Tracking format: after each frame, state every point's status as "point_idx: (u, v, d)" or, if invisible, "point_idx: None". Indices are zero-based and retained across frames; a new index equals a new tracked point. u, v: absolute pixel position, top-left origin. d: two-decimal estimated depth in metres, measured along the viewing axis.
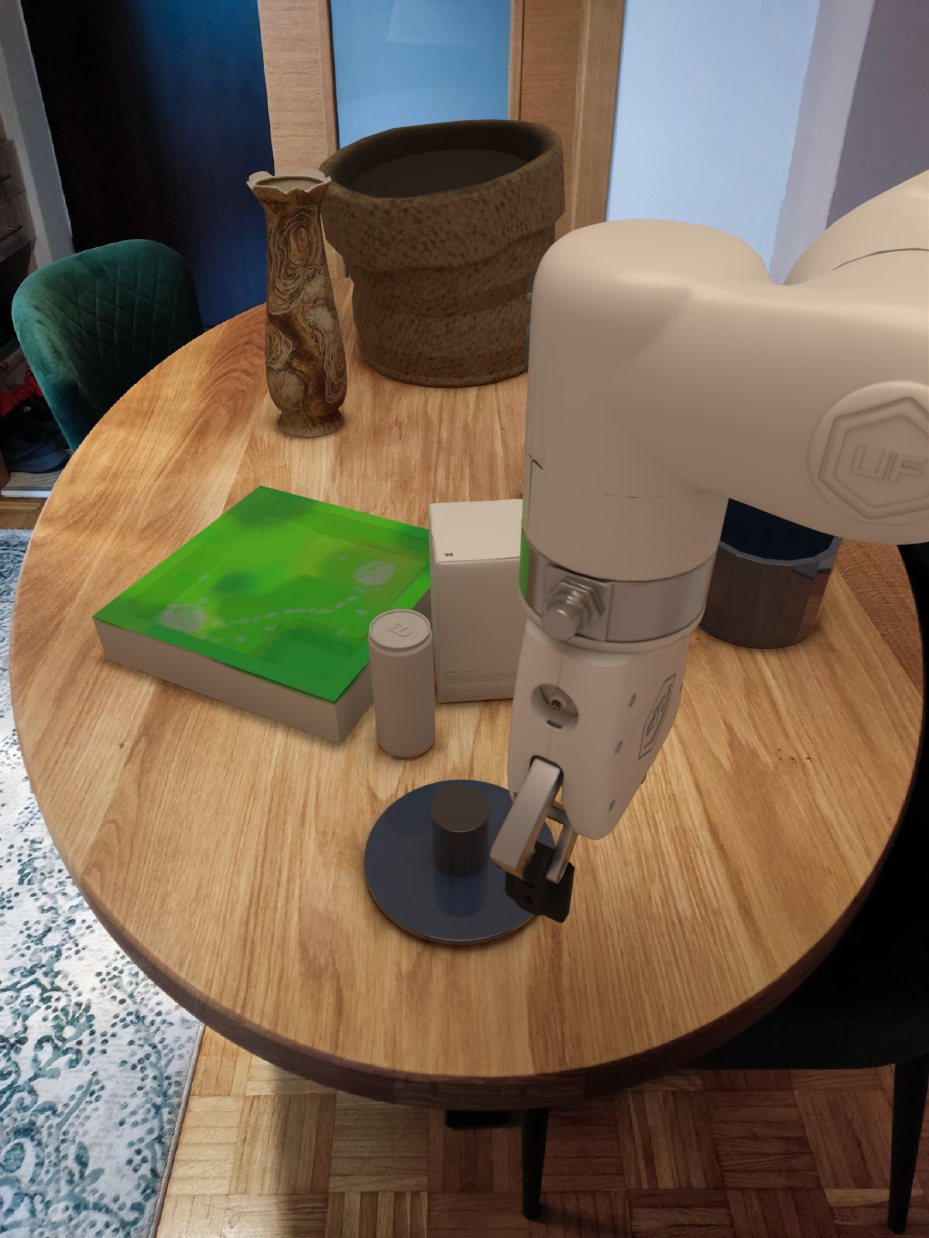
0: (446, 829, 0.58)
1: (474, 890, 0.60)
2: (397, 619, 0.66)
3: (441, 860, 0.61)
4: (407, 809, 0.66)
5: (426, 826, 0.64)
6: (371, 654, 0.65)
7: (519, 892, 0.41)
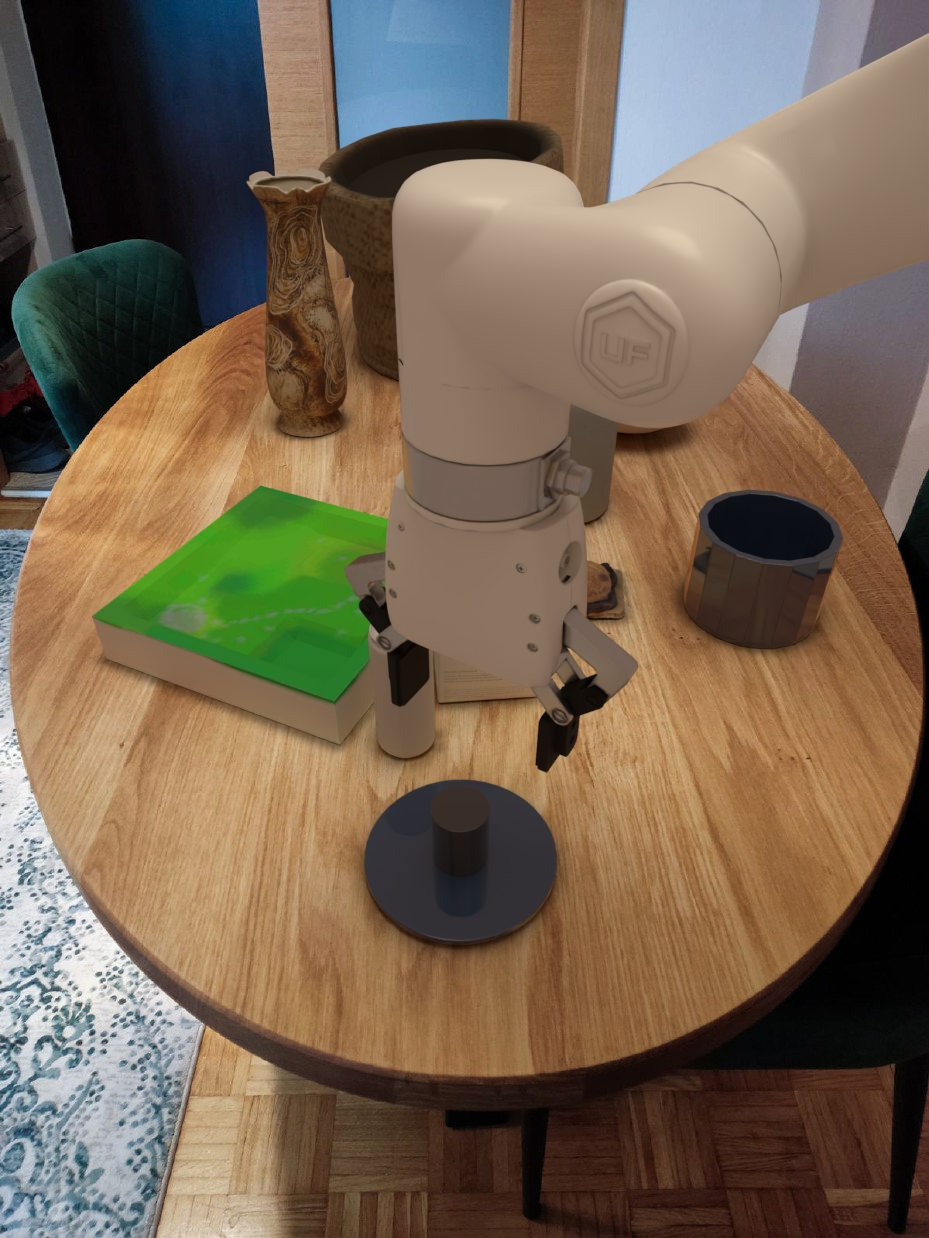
0: (446, 829, 0.58)
1: (474, 890, 0.60)
2: None
3: (441, 860, 0.61)
4: (407, 809, 0.66)
5: (426, 826, 0.64)
6: (371, 654, 0.65)
7: (568, 743, 0.48)
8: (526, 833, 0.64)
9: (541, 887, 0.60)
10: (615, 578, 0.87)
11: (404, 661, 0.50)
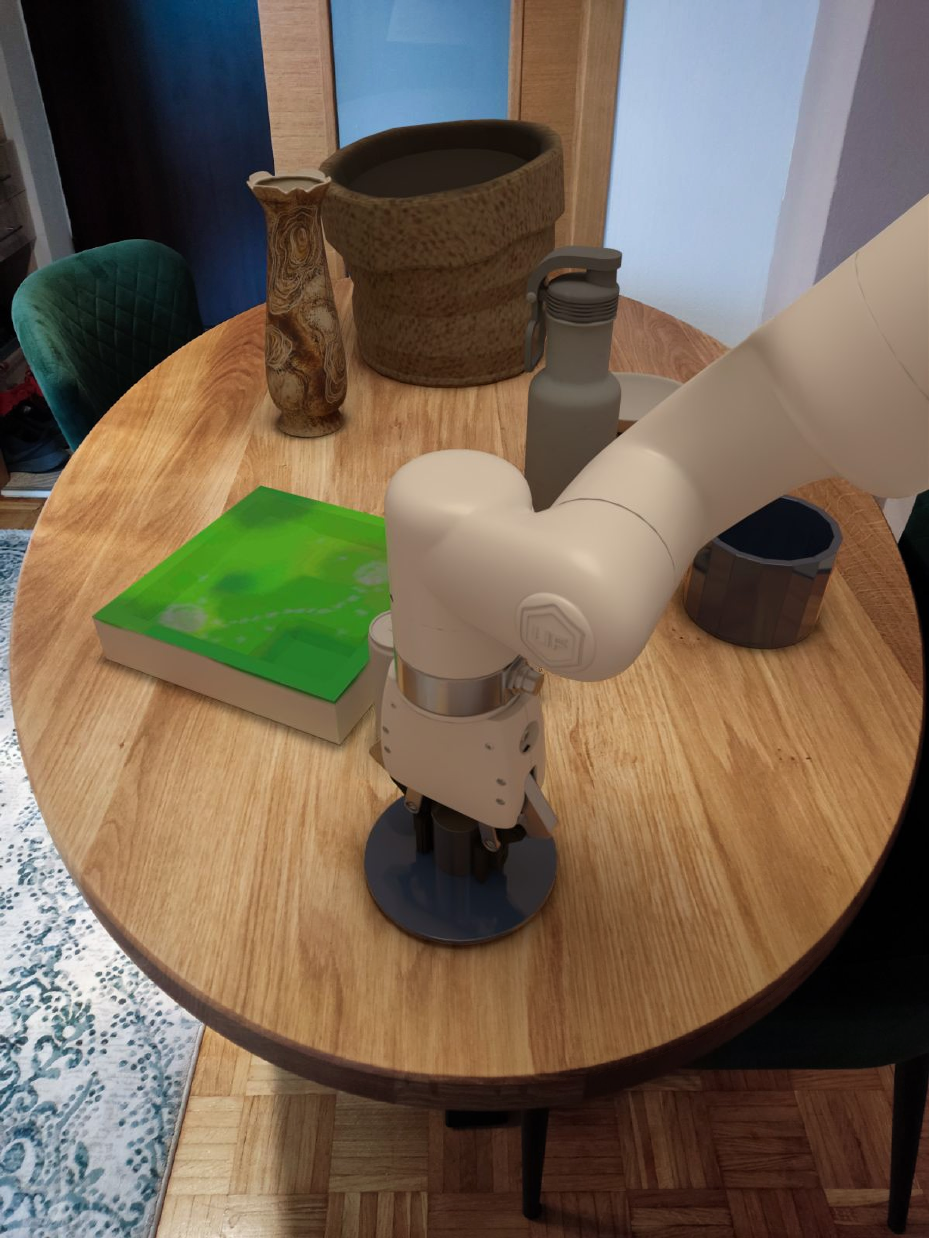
0: (446, 829, 0.58)
1: (474, 890, 0.60)
2: None
3: (441, 860, 0.61)
4: (407, 809, 0.66)
5: None
6: (371, 654, 0.65)
7: (499, 861, 0.60)
8: None
9: (541, 887, 0.60)
10: None
11: (428, 820, 0.60)
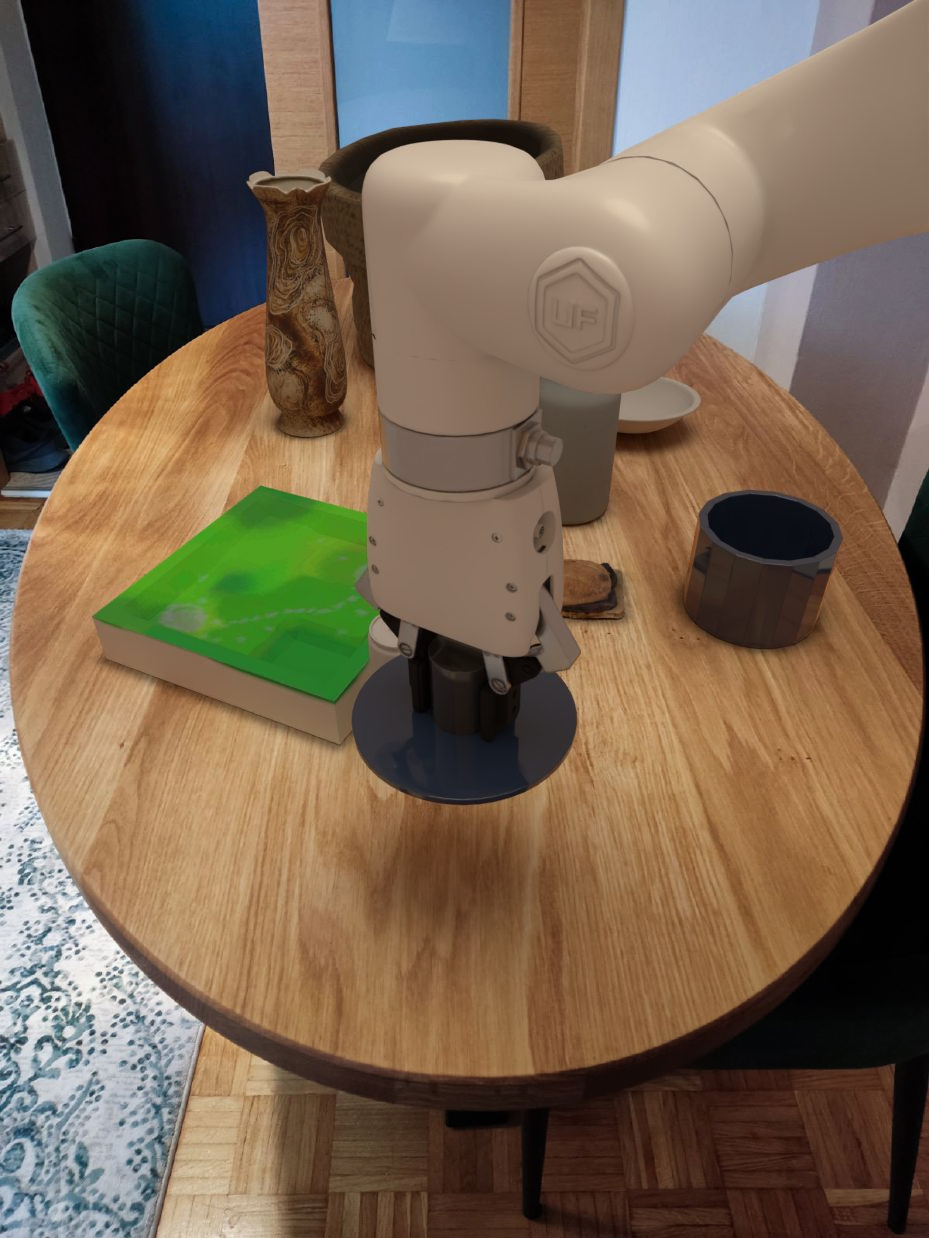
0: (446, 670, 0.49)
1: (480, 748, 0.51)
2: None
3: (441, 715, 0.52)
4: (402, 669, 0.56)
5: None
6: (371, 654, 0.65)
7: (509, 712, 0.50)
8: (540, 691, 0.55)
9: (559, 745, 0.51)
10: (615, 578, 0.87)
11: (425, 667, 0.51)
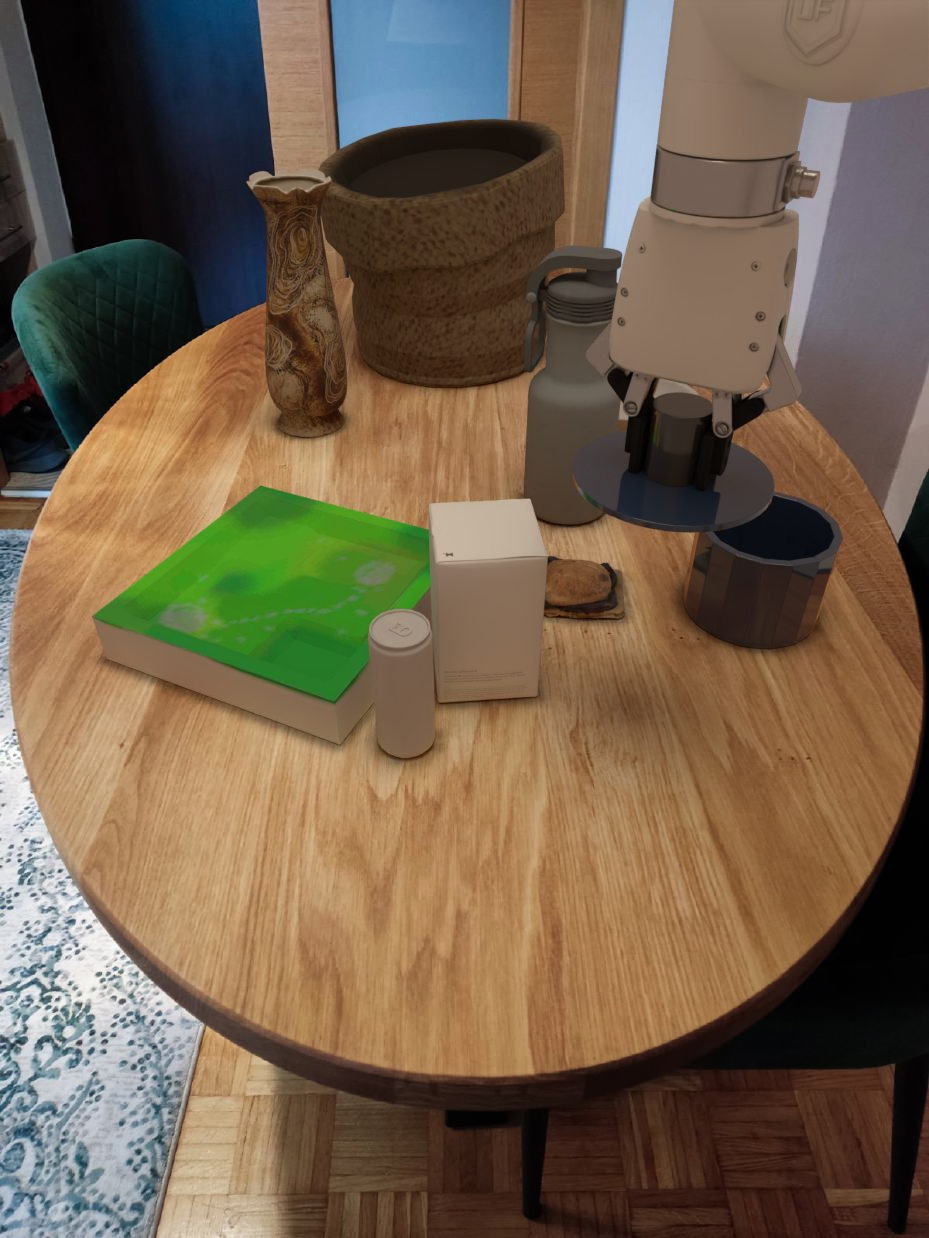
0: (674, 418, 0.56)
1: (695, 495, 0.58)
2: (397, 619, 0.66)
3: (659, 468, 0.59)
4: (607, 446, 0.64)
5: None
6: (371, 654, 0.65)
7: (723, 461, 0.58)
8: (734, 460, 0.62)
9: (763, 493, 0.59)
10: (615, 578, 0.87)
11: (646, 425, 0.59)
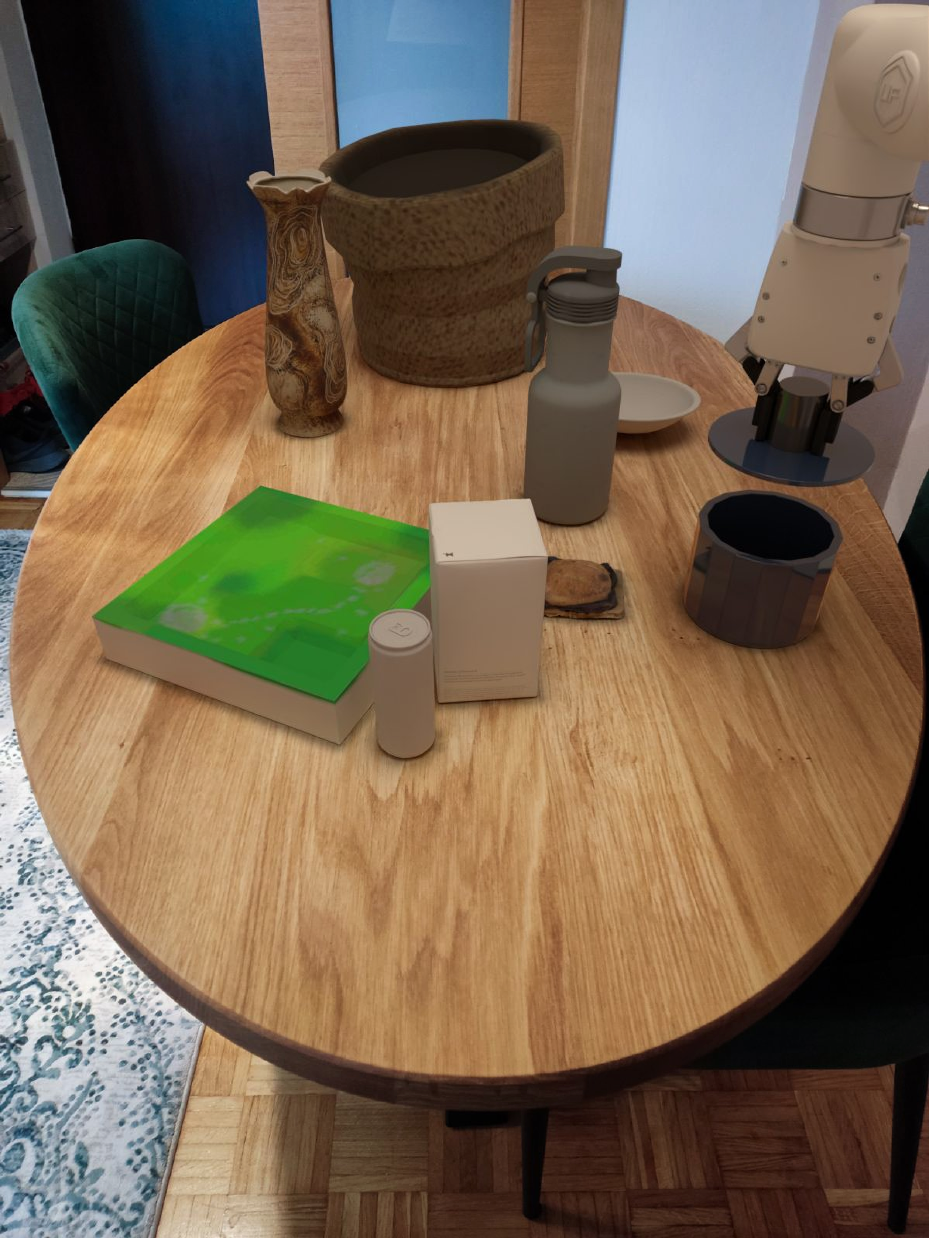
0: (799, 396, 0.71)
1: (812, 459, 0.73)
2: (397, 619, 0.66)
3: (783, 436, 0.73)
4: (733, 420, 0.78)
5: (754, 429, 0.77)
6: (371, 654, 0.65)
7: (835, 432, 0.72)
8: (839, 432, 0.76)
9: (867, 457, 0.73)
10: (615, 578, 0.87)
11: (773, 402, 0.73)
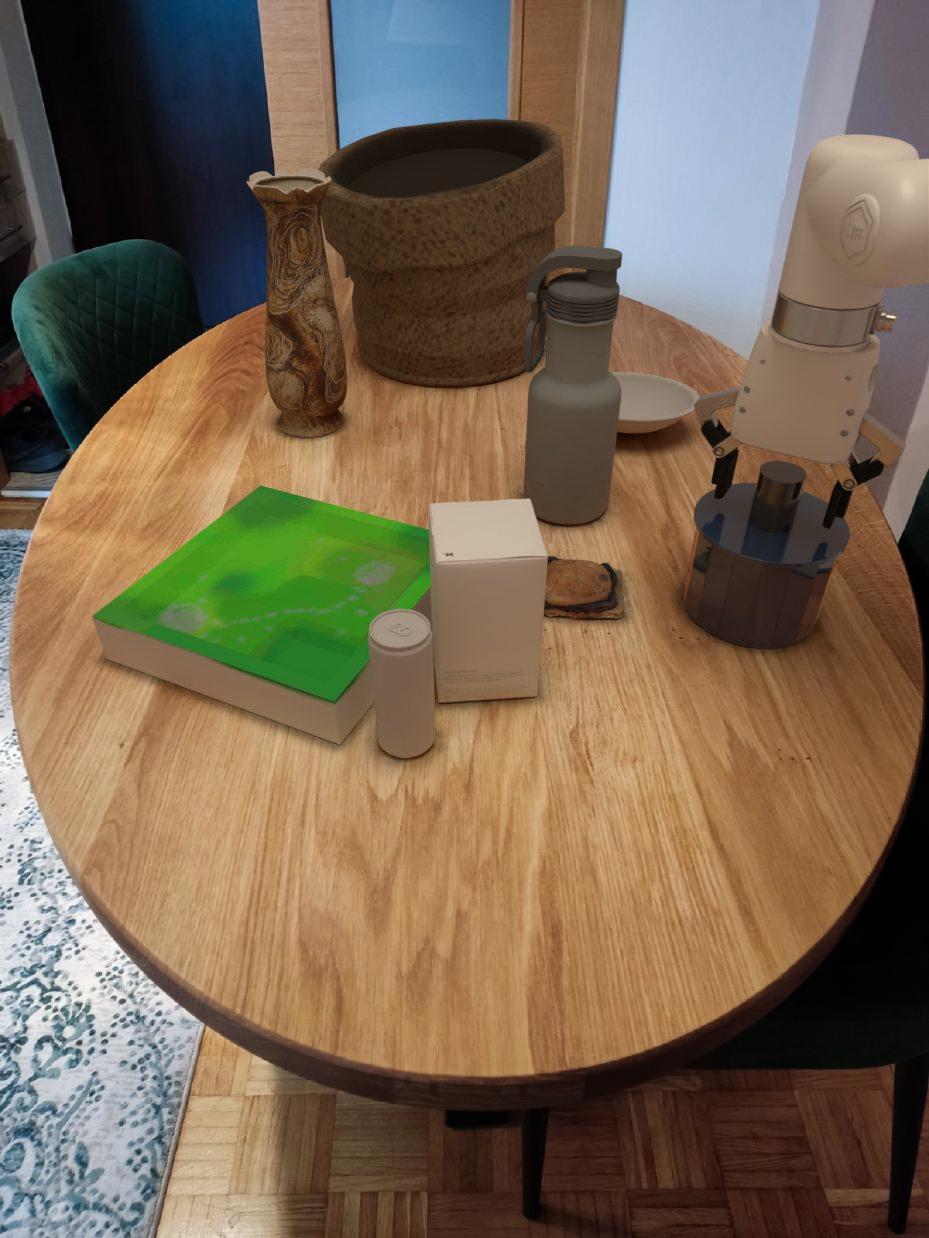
0: (778, 482, 0.76)
1: (791, 539, 0.78)
2: (397, 619, 0.66)
3: (763, 518, 0.78)
4: None
5: (737, 507, 0.82)
6: (371, 654, 0.65)
7: (846, 507, 0.75)
8: (817, 510, 0.81)
9: (842, 537, 0.78)
10: (615, 578, 0.87)
11: (730, 464, 0.78)
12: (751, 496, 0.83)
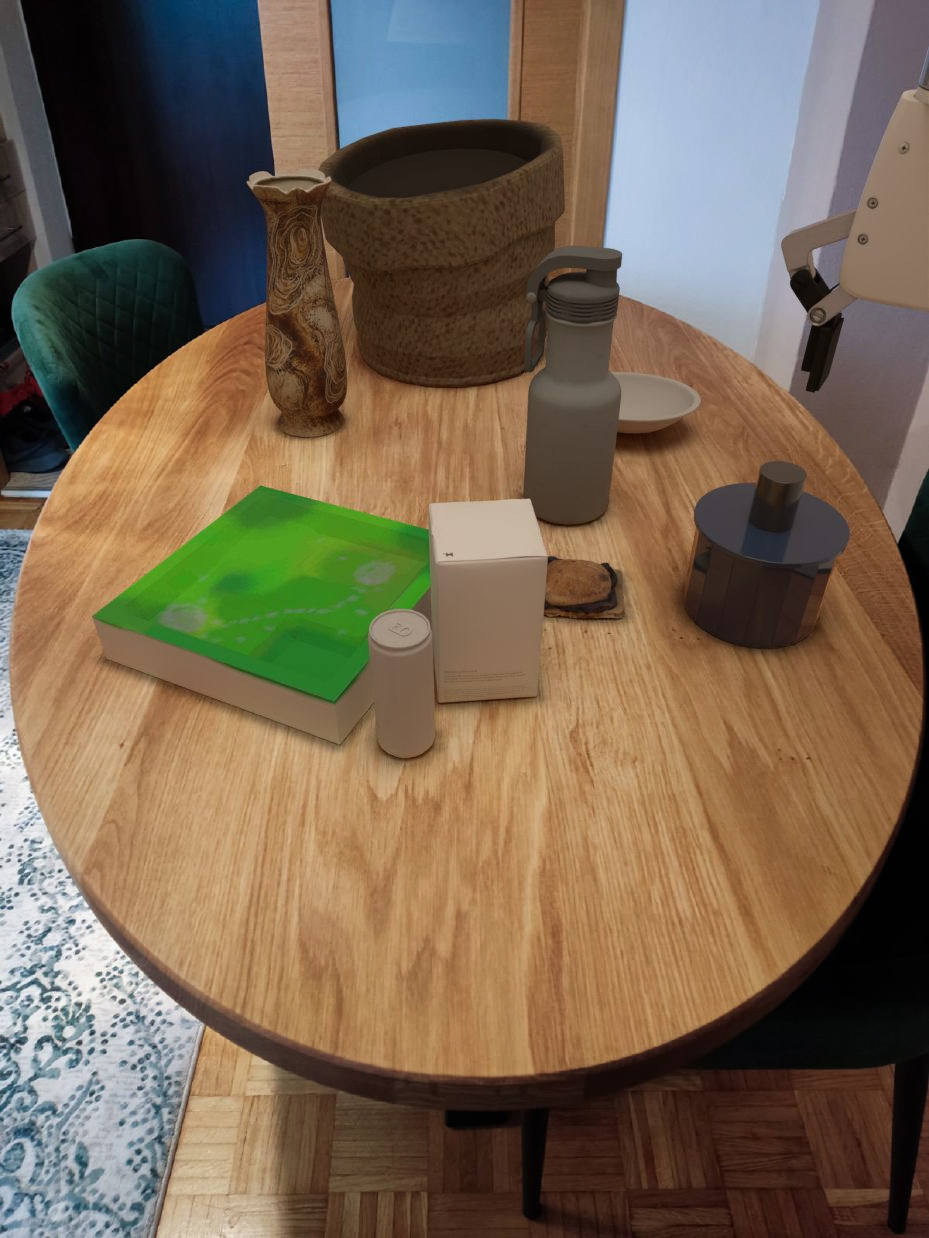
0: (778, 482, 0.76)
1: (791, 539, 0.78)
2: (397, 619, 0.66)
3: (763, 518, 0.78)
4: (717, 498, 0.83)
5: (737, 507, 0.82)
6: (371, 654, 0.65)
7: None
8: (817, 510, 0.81)
9: (842, 537, 0.78)
10: (615, 578, 0.87)
11: (833, 336, 0.52)
12: (751, 496, 0.83)
